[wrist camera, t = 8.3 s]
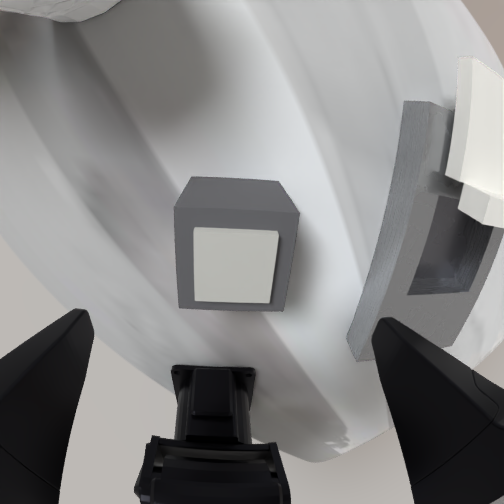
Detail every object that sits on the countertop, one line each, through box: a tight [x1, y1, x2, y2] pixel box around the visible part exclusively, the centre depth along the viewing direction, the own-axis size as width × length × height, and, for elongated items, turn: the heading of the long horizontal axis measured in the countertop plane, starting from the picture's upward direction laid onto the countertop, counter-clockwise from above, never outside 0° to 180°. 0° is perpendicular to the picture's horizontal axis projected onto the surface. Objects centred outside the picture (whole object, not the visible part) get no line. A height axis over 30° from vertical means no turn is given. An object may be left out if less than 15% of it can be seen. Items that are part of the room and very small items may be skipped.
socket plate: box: [346, 101, 504, 362], centre depth 16 cm, size 17×10×2 cm, turn 175°
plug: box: [174, 177, 300, 311], centre depth 13 cm, size 4×4×5 cm
